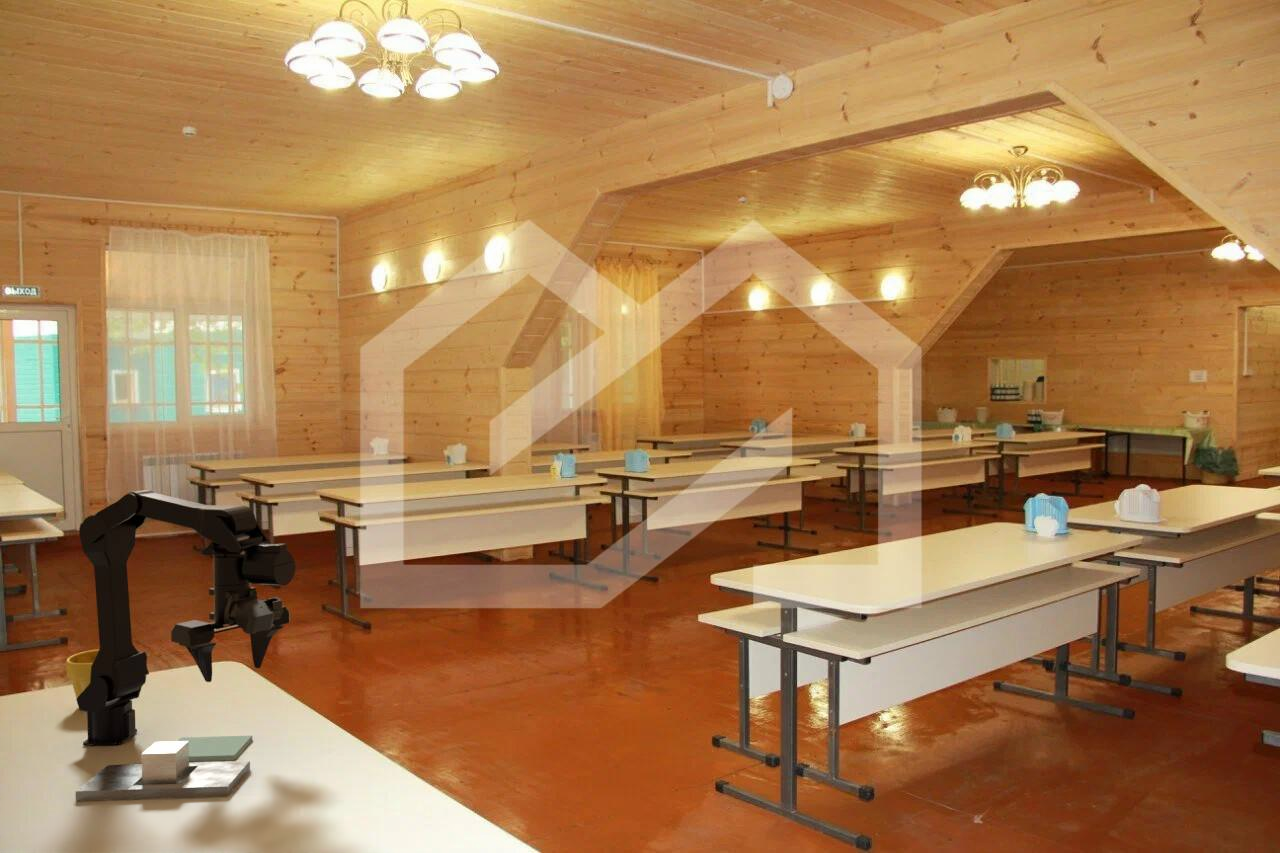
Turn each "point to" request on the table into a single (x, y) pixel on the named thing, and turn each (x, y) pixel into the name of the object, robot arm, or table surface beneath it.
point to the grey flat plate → (199, 783)
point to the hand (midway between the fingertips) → (233, 674)
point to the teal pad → (216, 747)
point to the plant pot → (80, 669)
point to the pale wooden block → (165, 763)
